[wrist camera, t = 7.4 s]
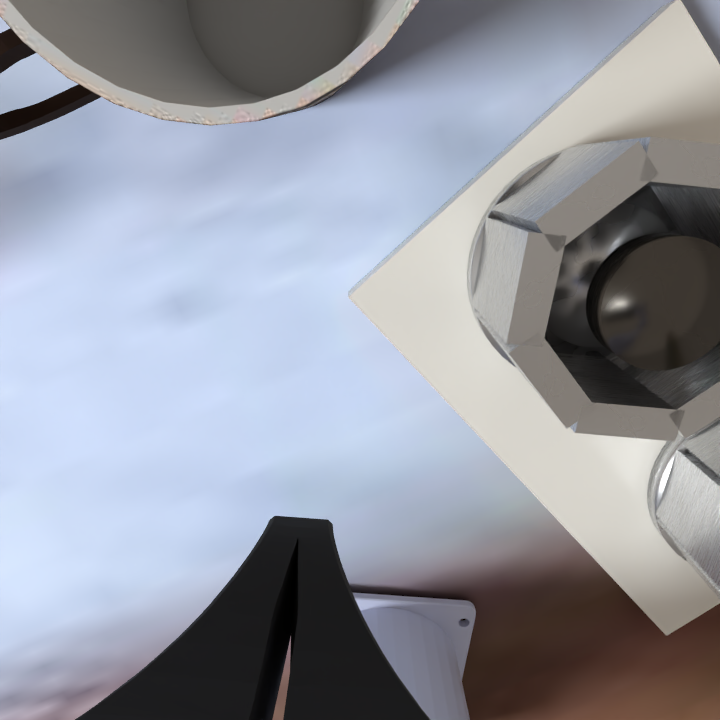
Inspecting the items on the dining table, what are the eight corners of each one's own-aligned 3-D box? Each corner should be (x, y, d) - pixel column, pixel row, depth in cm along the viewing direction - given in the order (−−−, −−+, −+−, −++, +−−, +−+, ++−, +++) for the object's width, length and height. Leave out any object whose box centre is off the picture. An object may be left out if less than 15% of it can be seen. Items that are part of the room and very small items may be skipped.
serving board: (933, 445, 23) (958, 457, 22) (655, 619, 26) (666, 635, 25) (661, 6, 18) (679, -3, 17) (348, 291, 21) (347, 297, 20)
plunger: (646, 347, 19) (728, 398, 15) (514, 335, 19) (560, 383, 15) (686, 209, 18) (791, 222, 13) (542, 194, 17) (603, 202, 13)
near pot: (720, 391, 21) (837, 461, 16) (450, 367, 21) (482, 431, 16) (799, 164, 18) (969, 163, 13) (488, 131, 18) (542, 115, 13)
